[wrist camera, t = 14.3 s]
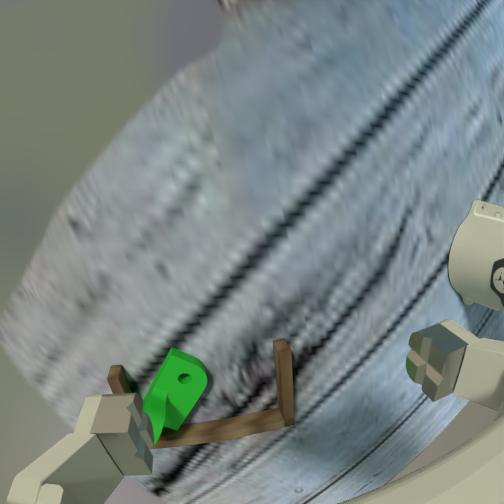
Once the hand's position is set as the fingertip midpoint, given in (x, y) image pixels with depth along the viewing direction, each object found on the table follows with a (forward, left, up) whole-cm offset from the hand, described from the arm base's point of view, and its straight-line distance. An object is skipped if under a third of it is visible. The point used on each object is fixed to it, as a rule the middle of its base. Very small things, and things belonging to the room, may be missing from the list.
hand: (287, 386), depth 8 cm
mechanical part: (+8, +21, -28) cm, 36 cm away
